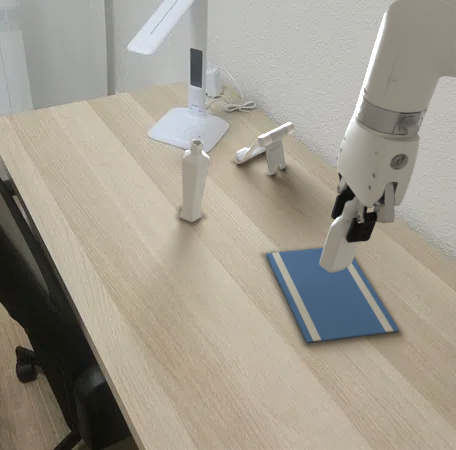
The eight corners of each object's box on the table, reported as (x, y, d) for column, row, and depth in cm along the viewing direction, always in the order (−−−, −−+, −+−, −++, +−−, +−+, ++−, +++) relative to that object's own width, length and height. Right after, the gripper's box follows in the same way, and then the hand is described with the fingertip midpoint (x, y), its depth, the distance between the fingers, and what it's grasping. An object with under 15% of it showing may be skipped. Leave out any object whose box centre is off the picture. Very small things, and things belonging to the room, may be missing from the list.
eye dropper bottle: (360, 271, 79) (384, 206, 72) (322, 274, 79) (343, 208, 71) (348, 251, 83) (370, 186, 75) (312, 253, 82) (331, 188, 74)
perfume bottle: (207, 211, 99) (216, 140, 89) (196, 225, 96) (204, 152, 86) (185, 203, 100) (191, 131, 91) (173, 216, 97) (178, 143, 88)
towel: (345, 247, 93) (346, 245, 92) (398, 331, 79) (399, 329, 79) (265, 255, 91) (266, 253, 90) (306, 343, 77) (307, 341, 77)
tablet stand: (262, 146, 115) (269, 111, 110) (292, 163, 111) (300, 127, 106) (234, 161, 111) (239, 124, 106) (263, 179, 107) (270, 142, 101)
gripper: (459, 148, 59) (404, 268, 71) (385, 77, 71) (348, 190, 83) (395, 153, 58) (350, 274, 70) (330, 80, 70) (301, 194, 82)
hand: (349, 227), depth 76 cm, fingers closed on eye dropper bottle, 4 cm apart
